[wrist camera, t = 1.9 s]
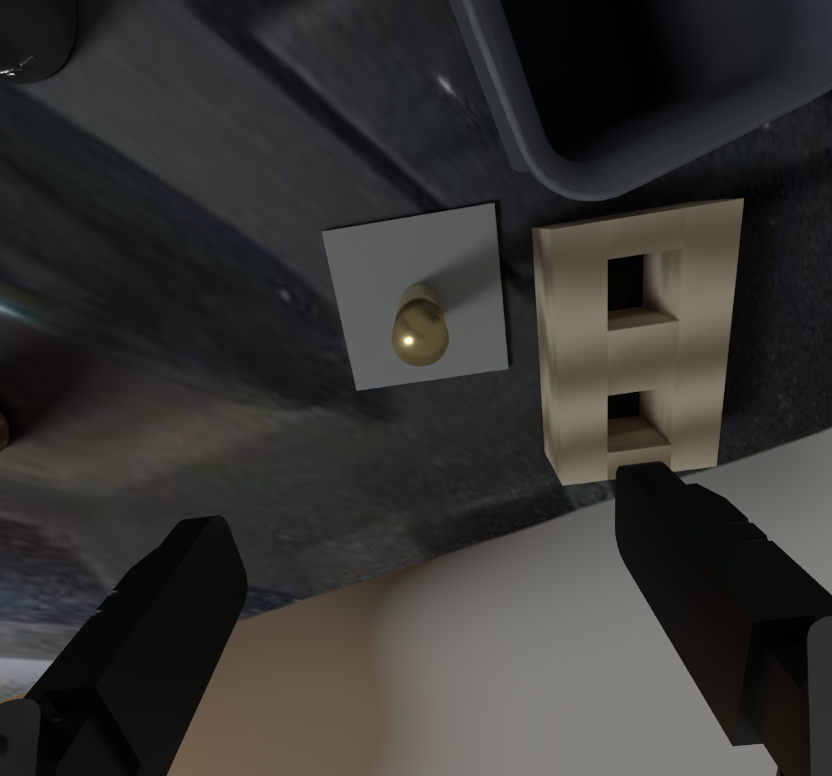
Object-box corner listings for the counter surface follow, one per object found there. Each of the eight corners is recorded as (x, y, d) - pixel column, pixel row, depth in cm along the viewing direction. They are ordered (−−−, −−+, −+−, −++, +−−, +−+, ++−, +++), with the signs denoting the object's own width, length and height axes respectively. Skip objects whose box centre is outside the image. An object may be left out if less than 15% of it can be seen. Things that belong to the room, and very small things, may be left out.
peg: (396, 286, 32) (386, 315, 23) (437, 280, 32) (445, 306, 22) (403, 326, 33) (396, 370, 24) (443, 320, 33) (452, 362, 23)
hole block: (531, 227, 31) (552, 229, 26) (693, 201, 30) (743, 198, 25) (544, 451, 37) (562, 485, 32) (678, 434, 36) (716, 466, 32)
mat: (322, 231, 31) (321, 231, 31) (493, 202, 30) (494, 202, 30) (357, 388, 35) (356, 390, 35) (507, 367, 34) (508, 368, 34)
